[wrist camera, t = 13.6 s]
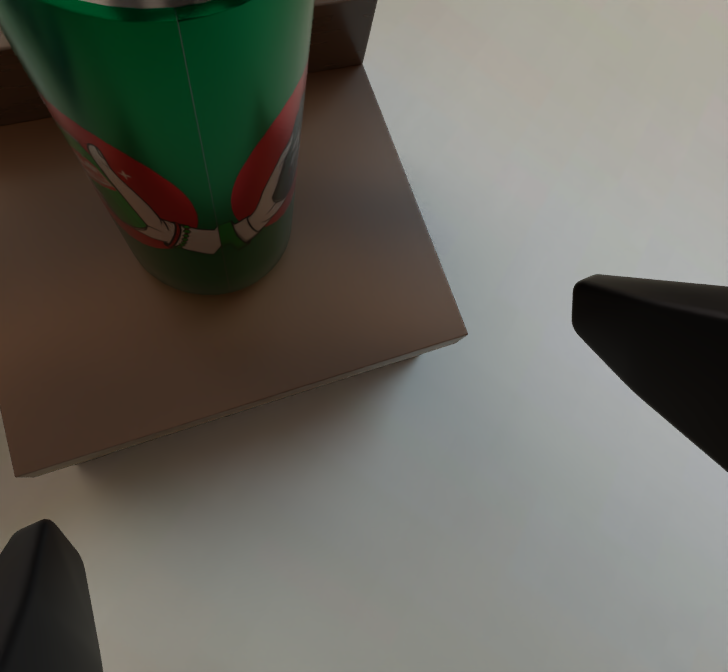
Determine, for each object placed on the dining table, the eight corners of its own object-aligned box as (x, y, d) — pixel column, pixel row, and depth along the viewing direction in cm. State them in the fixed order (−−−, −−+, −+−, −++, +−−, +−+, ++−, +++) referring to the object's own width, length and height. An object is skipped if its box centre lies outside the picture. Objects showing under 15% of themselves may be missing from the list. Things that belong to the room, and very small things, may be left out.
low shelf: (429, 361, 22) (506, 307, 15) (70, 478, 19) (-46, 477, 12) (337, 114, 25) (367, -35, 18) (1, 179, 21) (-133, 28, 14)
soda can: (268, 145, 19) (272, -383, 7) (309, 281, 18) (388, -82, 6) (113, 171, 17) (-176, -413, 6) (147, 318, 16) (-120, -45, 5)
